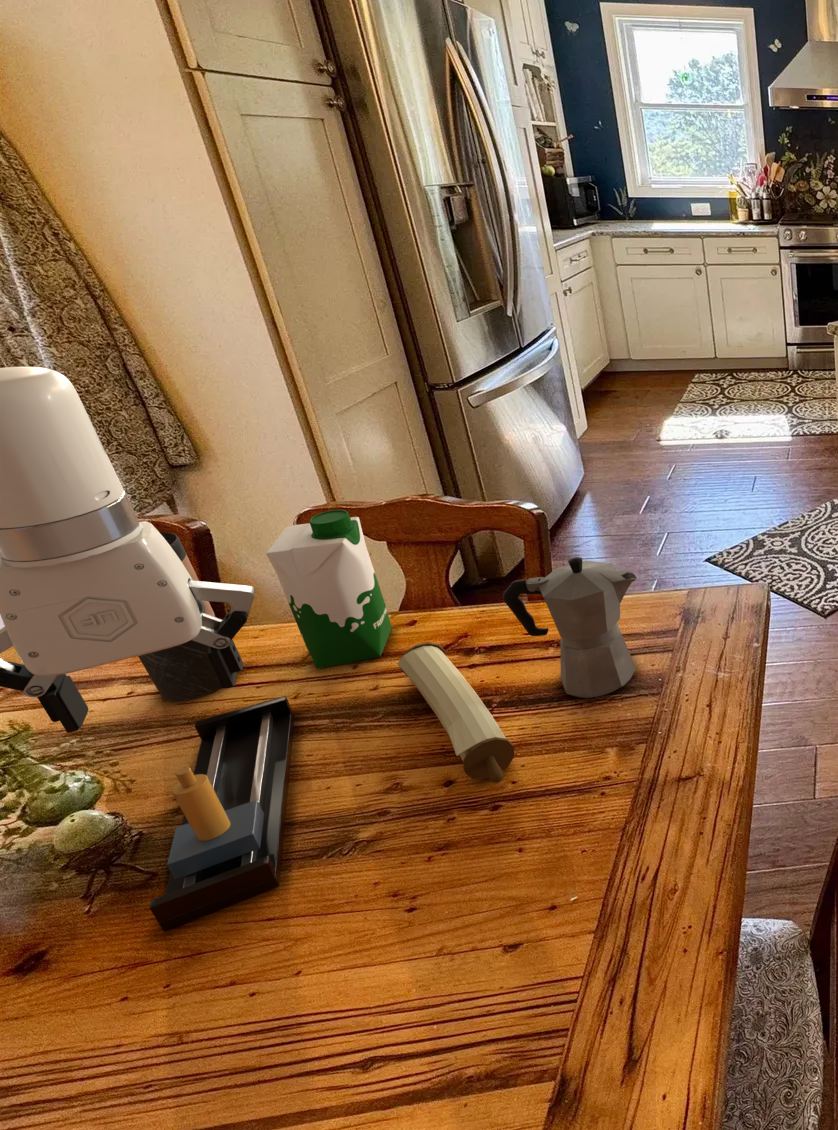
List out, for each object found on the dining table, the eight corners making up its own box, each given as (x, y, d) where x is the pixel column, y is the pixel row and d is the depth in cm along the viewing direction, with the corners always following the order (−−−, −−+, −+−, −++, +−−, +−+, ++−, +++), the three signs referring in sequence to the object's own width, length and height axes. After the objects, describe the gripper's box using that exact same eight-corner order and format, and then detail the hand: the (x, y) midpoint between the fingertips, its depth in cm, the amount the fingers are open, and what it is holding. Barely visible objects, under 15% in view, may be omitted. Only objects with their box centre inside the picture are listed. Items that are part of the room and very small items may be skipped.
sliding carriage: (175, 880, 70) (131, 803, 66) (183, 842, 74) (142, 767, 70) (260, 848, 73) (223, 774, 69) (264, 813, 77) (229, 741, 73)
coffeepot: (656, 648, 107) (637, 535, 99) (648, 692, 98) (626, 572, 91) (535, 662, 103) (506, 546, 96) (516, 709, 95) (483, 586, 87)
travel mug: (249, 678, 99) (189, 543, 90) (170, 711, 93) (98, 570, 84) (226, 656, 102) (167, 525, 94) (149, 688, 96) (78, 550, 88)
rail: (163, 932, 68) (148, 908, 67) (206, 742, 88) (195, 721, 87) (279, 886, 72) (267, 863, 71) (294, 715, 93) (285, 695, 91)
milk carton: (387, 659, 103) (341, 529, 94) (304, 675, 99) (249, 541, 91) (401, 623, 110) (360, 499, 102) (324, 637, 107) (275, 510, 98)
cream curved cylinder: (531, 782, 85) (522, 748, 82) (475, 811, 81) (464, 776, 79) (443, 652, 104) (434, 622, 102) (395, 671, 101) (384, 640, 99)
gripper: (-131, 582, 52) (-4, 769, 59) (209, 517, 61) (283, 686, 69) (-86, 537, 58) (25, 714, 65) (220, 484, 67) (287, 644, 74)
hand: (158, 699), depth 67 cm, fingers open, 9 cm apart
